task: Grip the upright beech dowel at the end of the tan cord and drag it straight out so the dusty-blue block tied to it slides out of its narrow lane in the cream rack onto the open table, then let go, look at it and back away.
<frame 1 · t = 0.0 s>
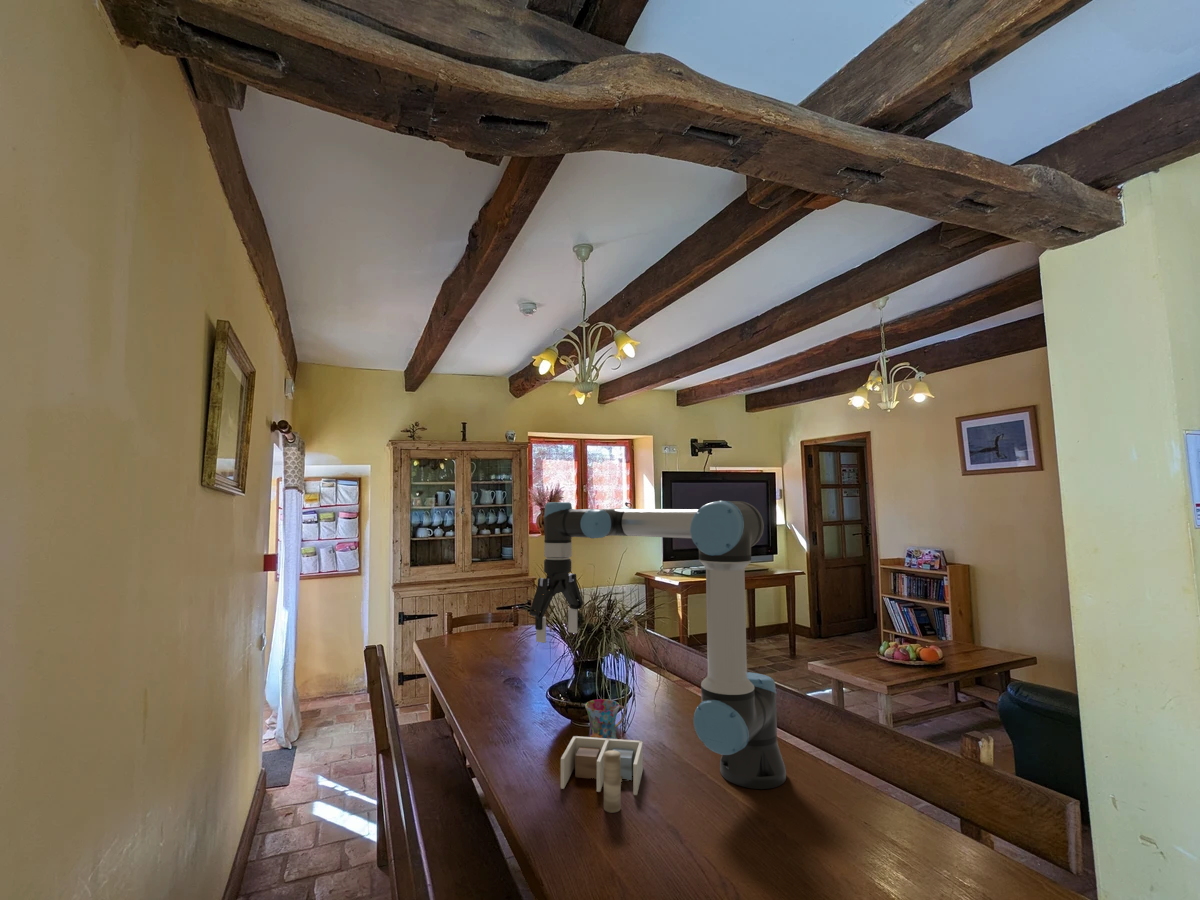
hand: (557, 637, 158), 28 cm above the table, fingers open, 13 cm apart
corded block: (622, 774, 138), on the table
mug: (606, 745, 155), on the table
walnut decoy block: (587, 773, 139), resting in lane rack
lane rack: (603, 778, 136), on the table
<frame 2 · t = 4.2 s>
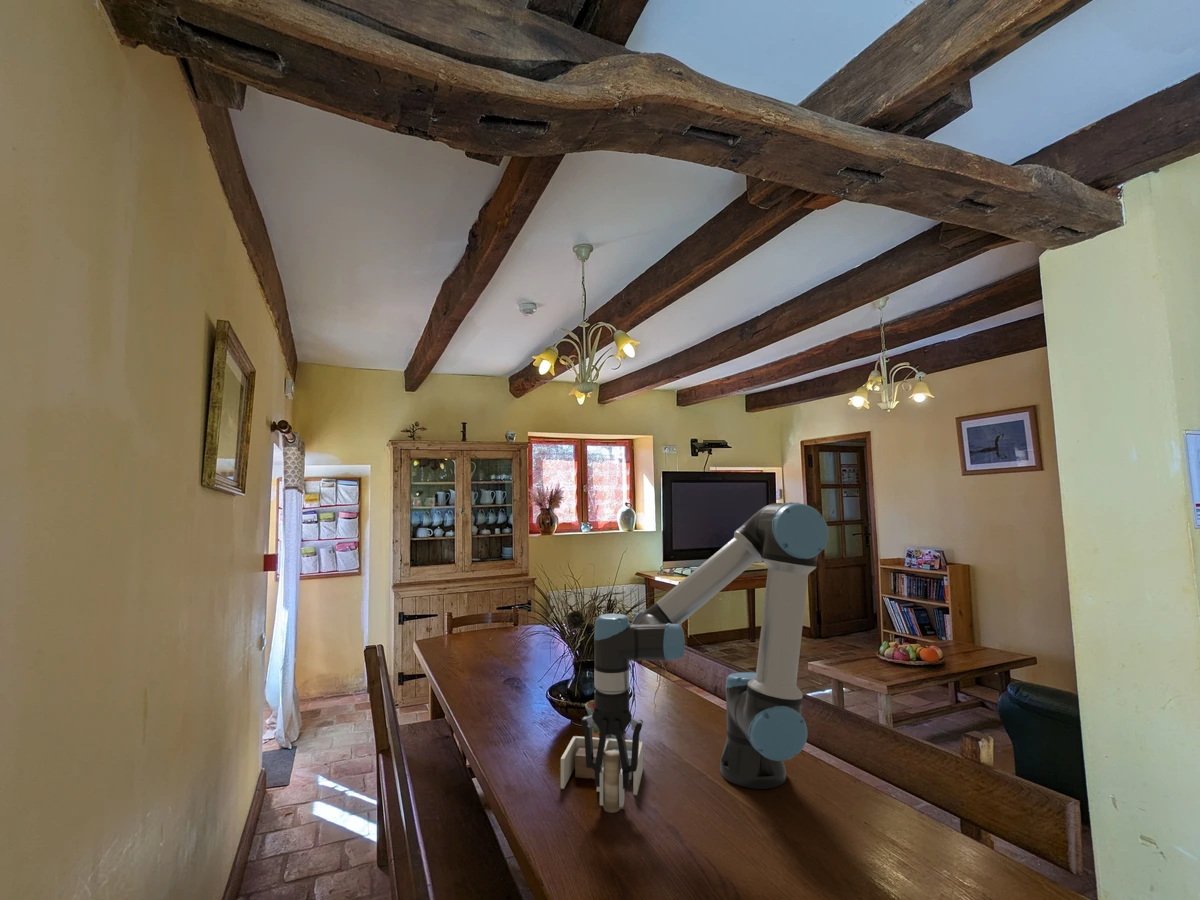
hand: (612, 802, 123), 1 cm above the table, fingers closed on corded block, 3 cm apart
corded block: (622, 774, 138), on the table, touching gripper
everything else where it was.
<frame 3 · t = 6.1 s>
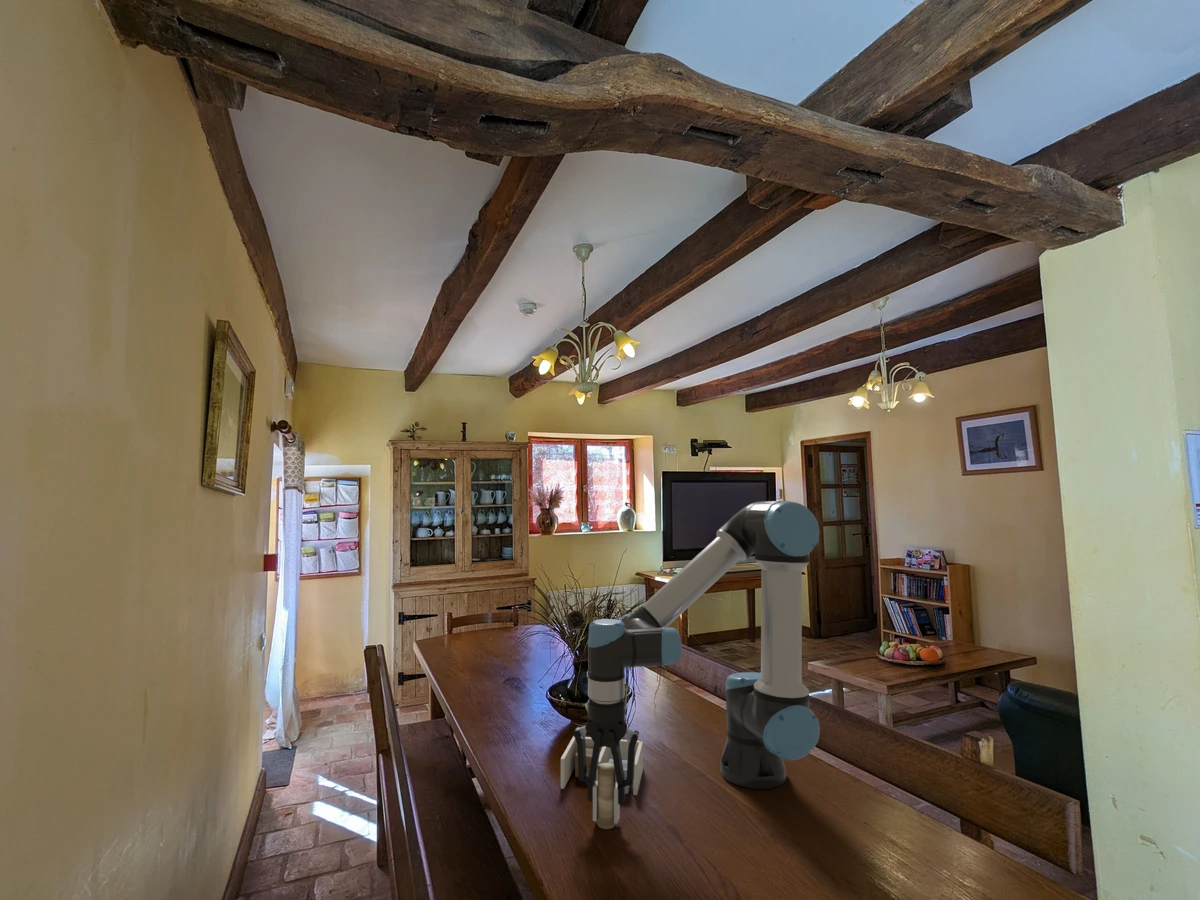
hand: (606, 818, 117), 1 cm above the table, fingers closed on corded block, 4 cm apart
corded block: (618, 787, 132), on the table, touching gripper
everything else where it was.
when the fingers open (1 cm above the table, at t = 7.8 s): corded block stays where it is, on the table.
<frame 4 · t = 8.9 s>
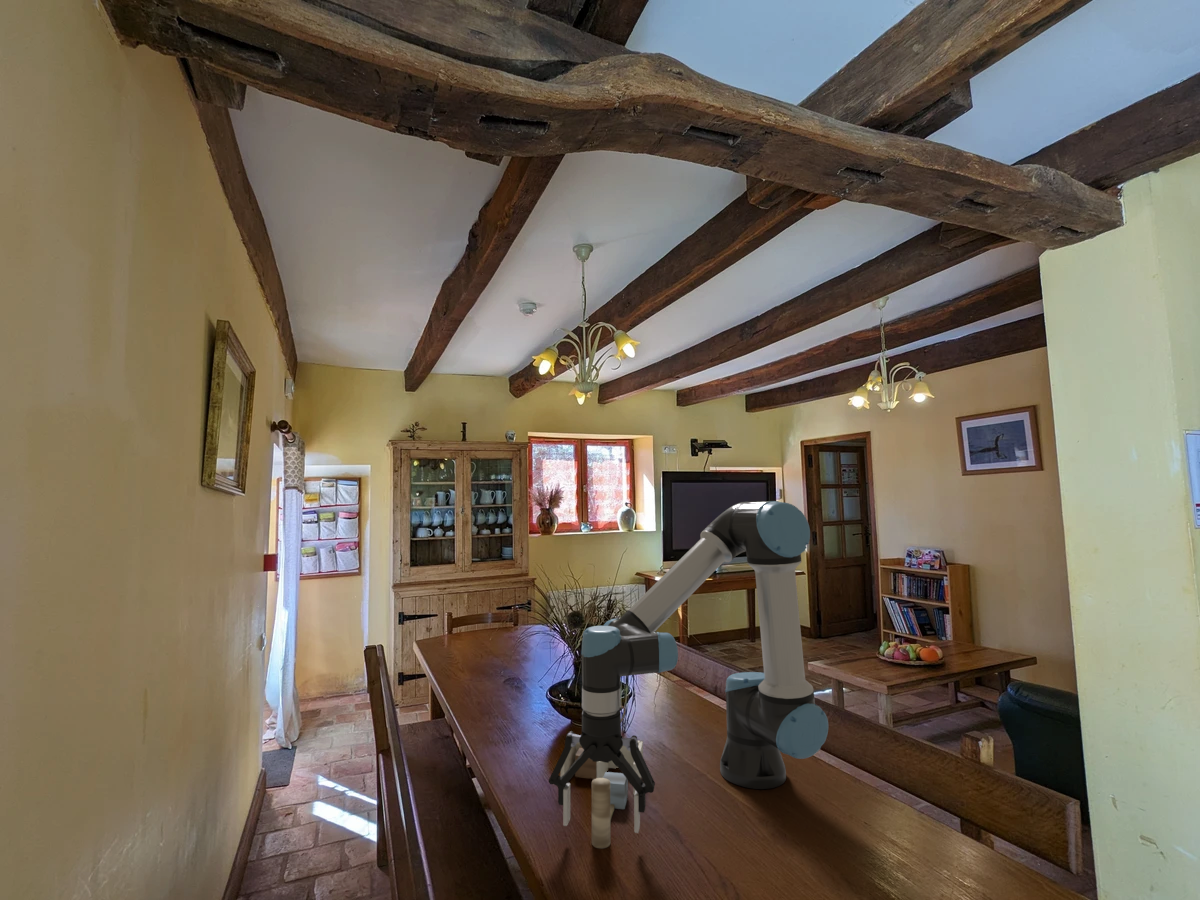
hand: (601, 825, 110), 3 cm above the table, fingers open, 13 cm apart
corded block: (614, 802, 125), on the table
everything else where it was.
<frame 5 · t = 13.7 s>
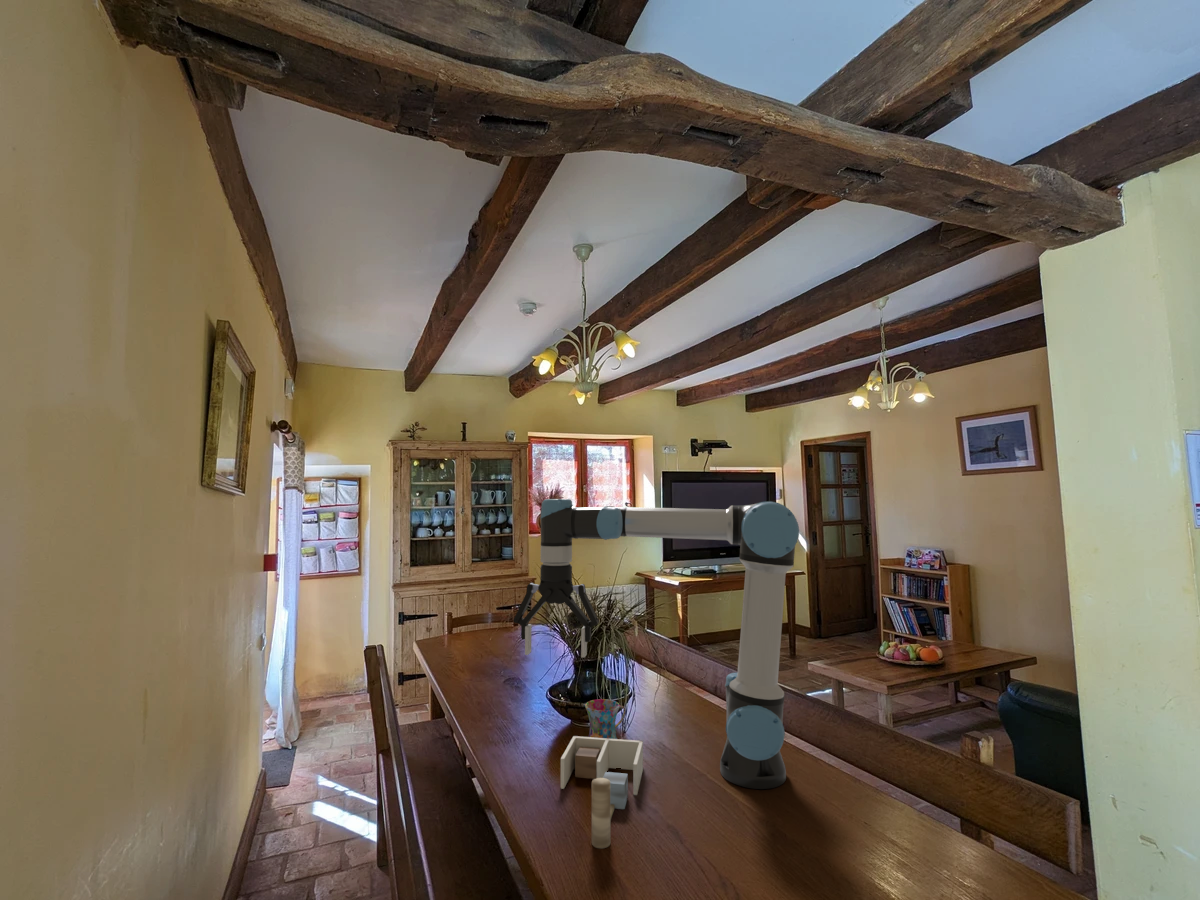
hand: (555, 654, 137), 29 cm above the table, fingers open, 13 cm apart
nothing on the table moved.
at the end: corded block inside the target area (0.2 cm from its centre), on the table; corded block moved 12.8 cm from its start; the gripper is holding nothing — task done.
